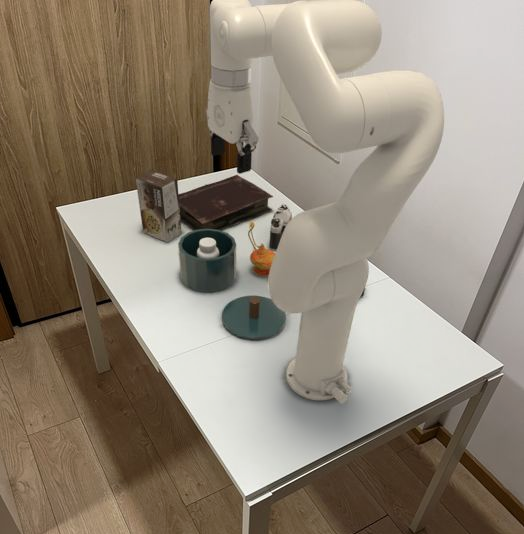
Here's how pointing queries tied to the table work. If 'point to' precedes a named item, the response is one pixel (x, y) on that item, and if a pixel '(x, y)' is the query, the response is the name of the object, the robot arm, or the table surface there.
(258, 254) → the magic lamp
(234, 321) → the lid
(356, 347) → the table surface
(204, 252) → the supplement bottle
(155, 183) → the coffee box
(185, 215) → the diary
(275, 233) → the camera
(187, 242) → the tin
